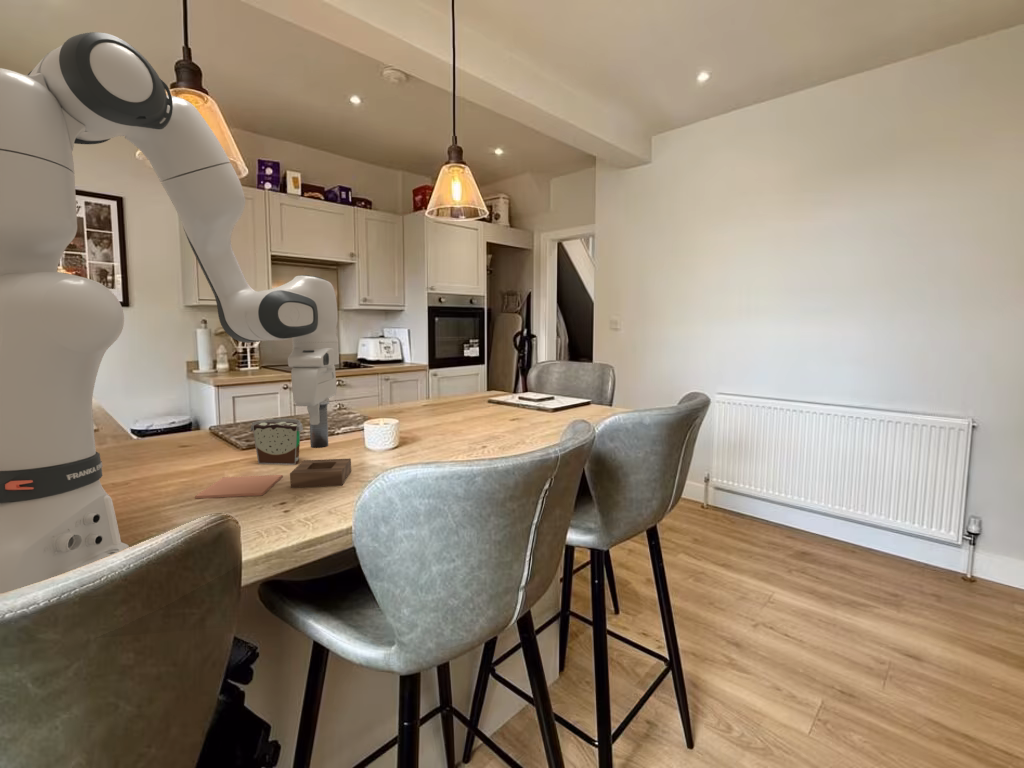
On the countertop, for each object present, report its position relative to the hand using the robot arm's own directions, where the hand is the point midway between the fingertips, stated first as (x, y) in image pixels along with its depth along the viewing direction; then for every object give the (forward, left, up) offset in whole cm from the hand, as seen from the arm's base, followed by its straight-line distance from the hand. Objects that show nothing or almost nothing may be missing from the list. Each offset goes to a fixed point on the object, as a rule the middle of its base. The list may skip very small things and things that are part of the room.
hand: (318, 422), depth 102 cm
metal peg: (0, 0, -5) cm, 5 cm away
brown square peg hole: (0, 0, -12) cm, 12 cm away
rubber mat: (-3, +15, -12) cm, 20 cm away
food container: (+17, +13, -13) cm, 25 cm away
